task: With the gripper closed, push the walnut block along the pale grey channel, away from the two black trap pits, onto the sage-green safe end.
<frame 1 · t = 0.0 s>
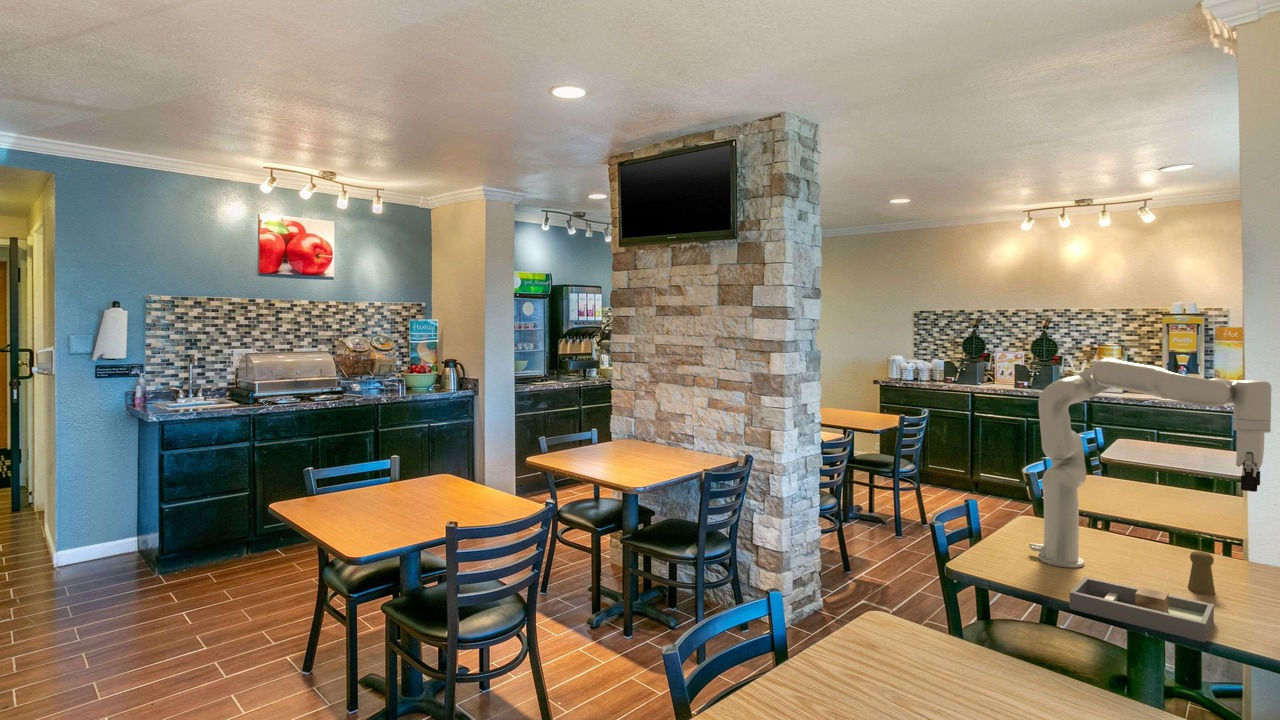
hand: (1250, 487, 181), 31 cm above the table, tool pointing down, fingers open, 9 cm apart
walnut block: (1151, 610, 172), point 2 cm above the table, touching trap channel
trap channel: (1139, 615, 174), on the table
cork: (1201, 591, 190), on the table
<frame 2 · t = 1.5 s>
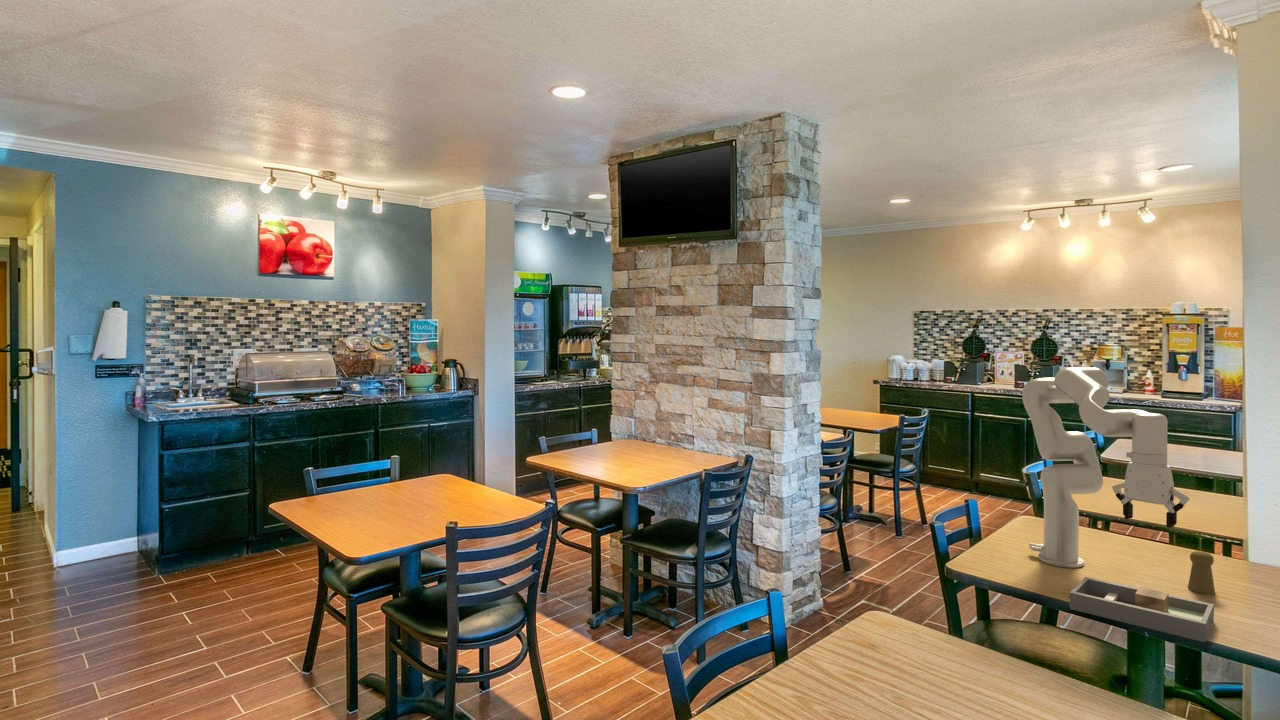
hand: (1149, 522, 178), 23 cm above the table, tool pointing down, fingers open, 9 cm apart
nothing on the table moved.
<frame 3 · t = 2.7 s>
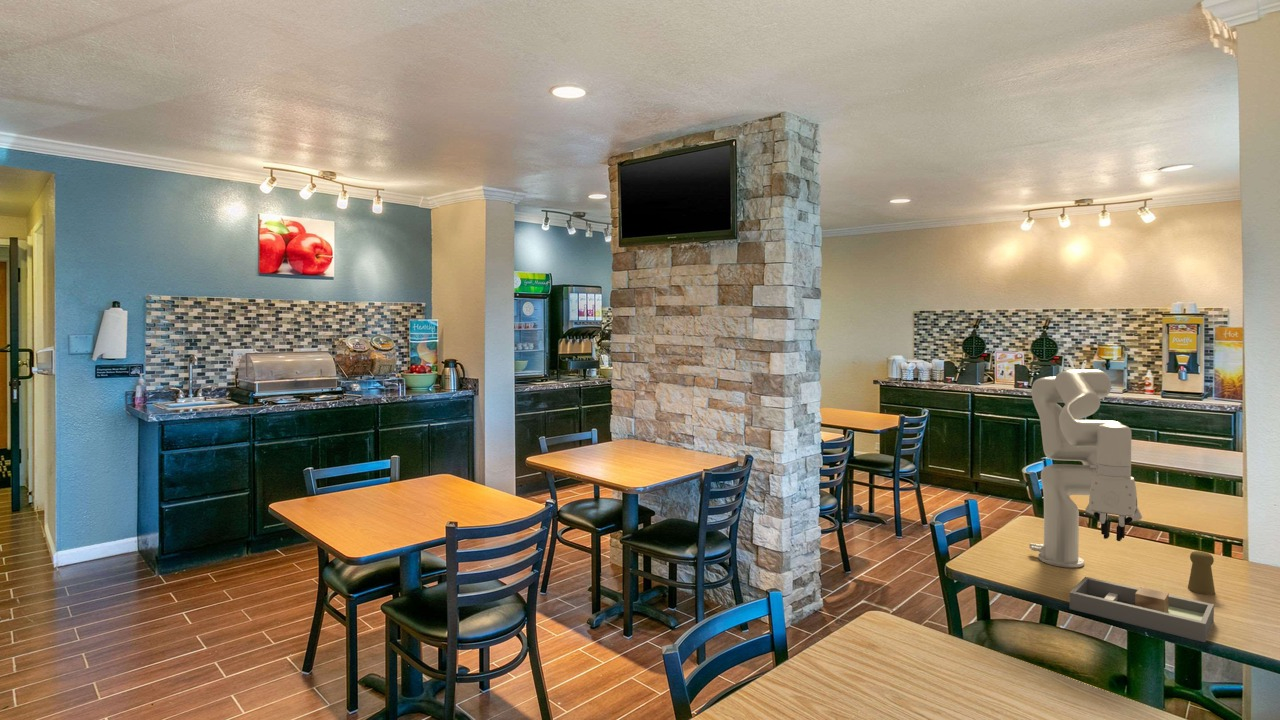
hand: (1112, 538, 178), 19 cm above the table, tool pointing down, fingers closed
nothing on the table moved.
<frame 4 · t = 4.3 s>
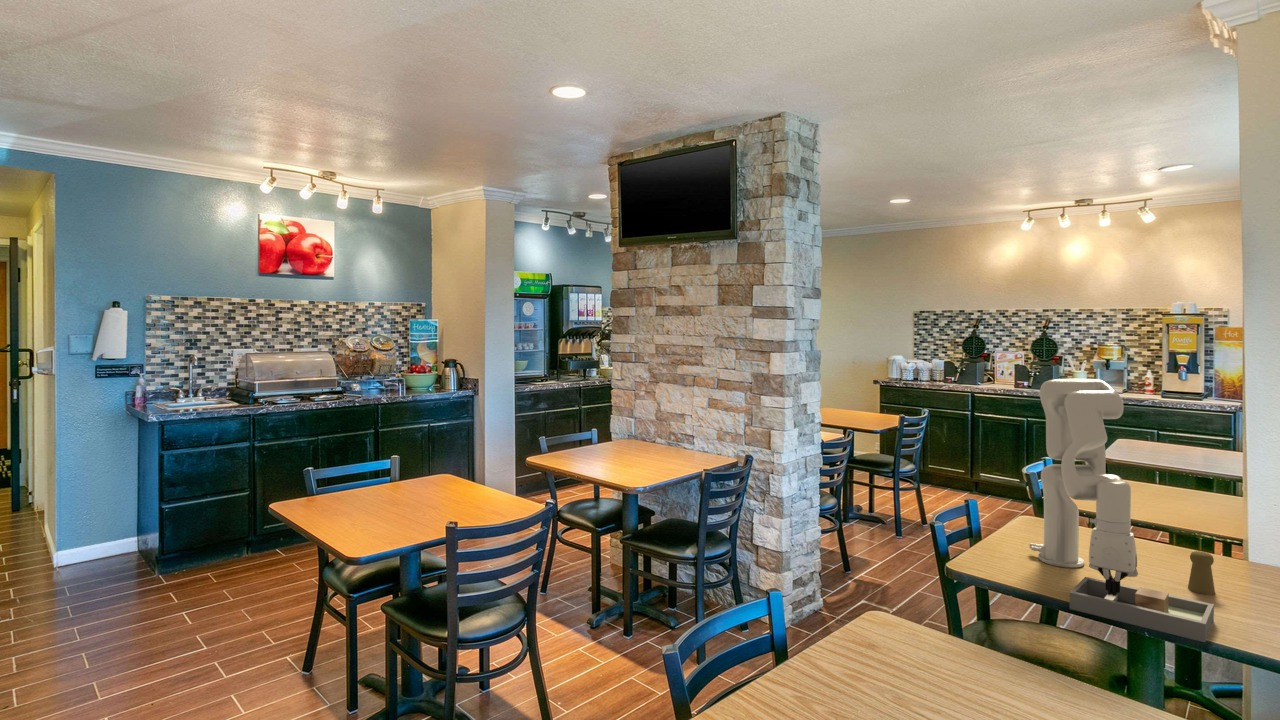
hand: (1112, 593, 178), 4 cm above the table, tool pointing down, fingers closed
nothing on the table moved.
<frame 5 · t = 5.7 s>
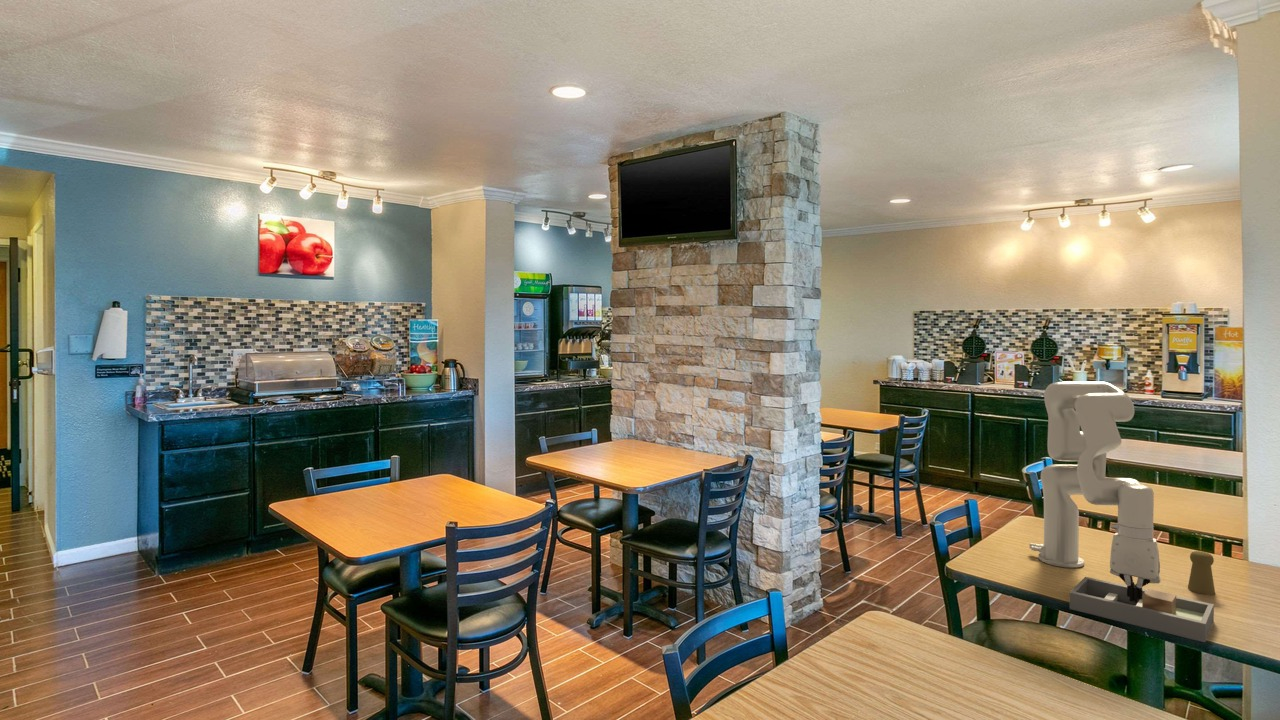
hand: (1134, 600, 175), 4 cm above the table, tool pointing down, fingers closed
walnut block: (1159, 612, 171), point 2 cm above the table, touching gripper, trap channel
everything else where it was.
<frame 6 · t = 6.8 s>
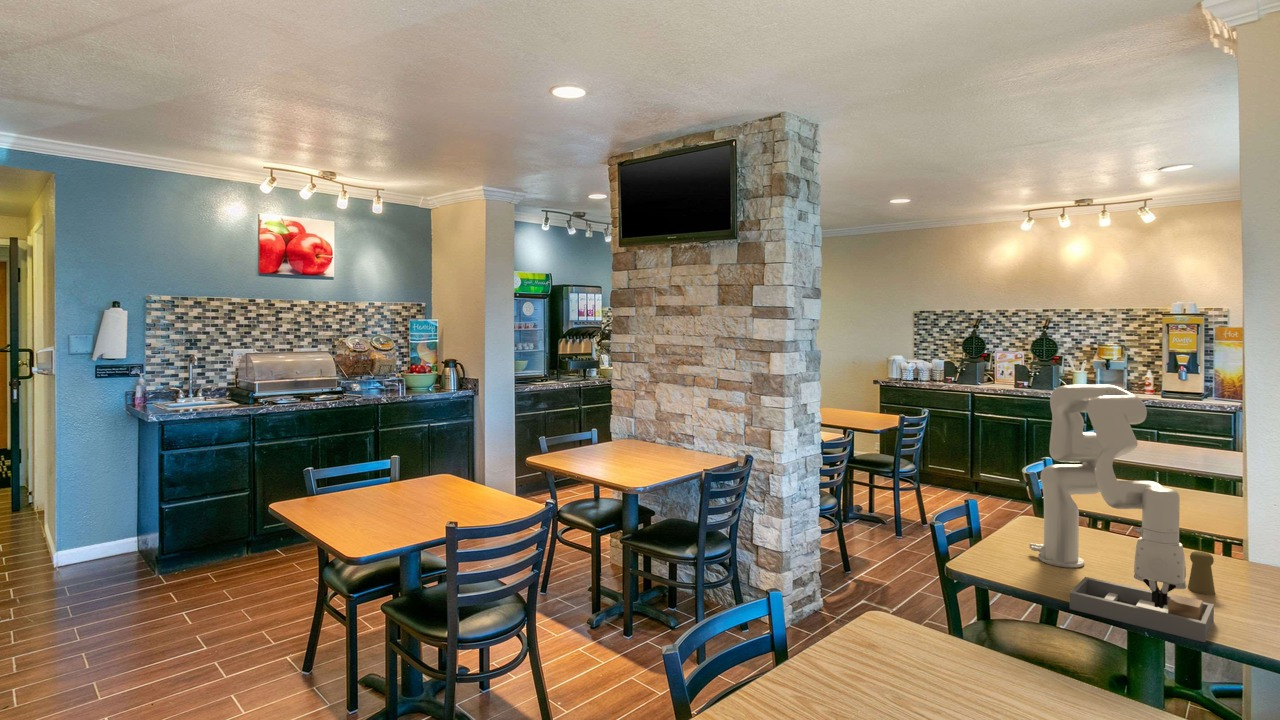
hand: (1159, 606, 171), 4 cm above the table, tool pointing down, fingers closed
walnut block: (1185, 618, 167), point 2 cm above the table, touching gripper
everything else where it was.
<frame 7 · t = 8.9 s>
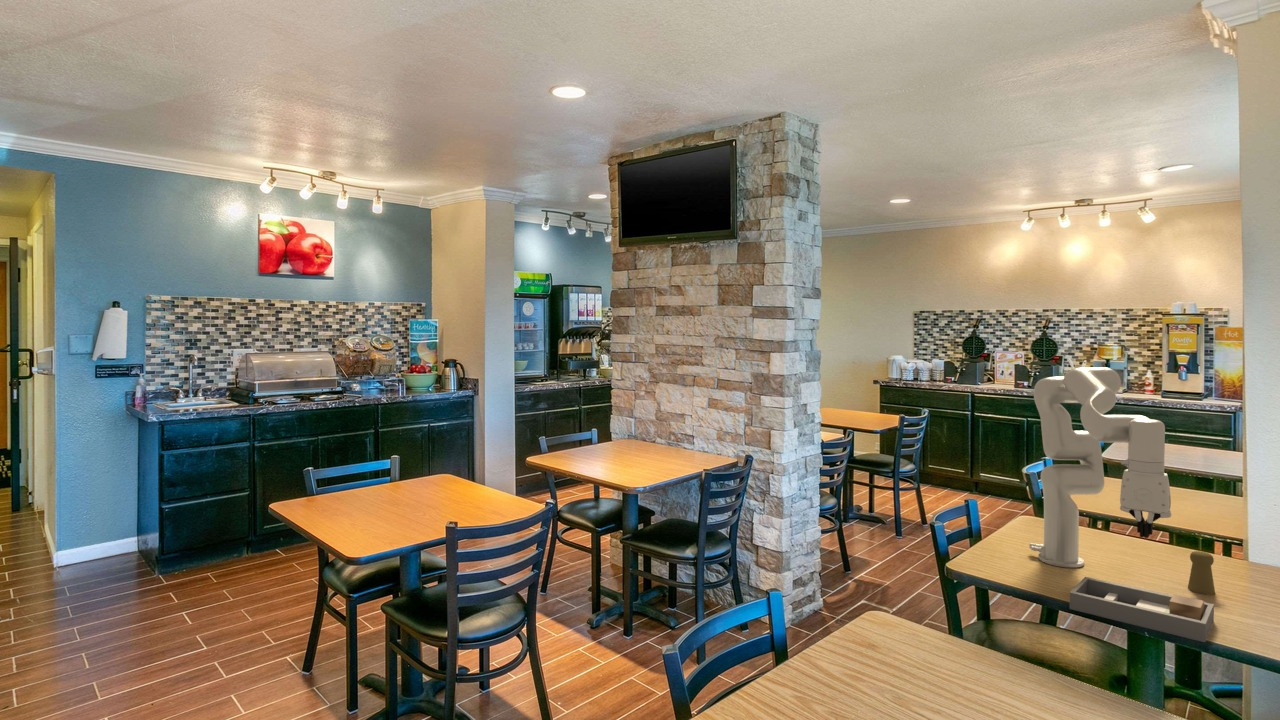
hand: (1144, 536, 173), 21 cm above the table, tool pointing down, fingers closed
walnut block: (1186, 618, 167), point 2 cm above the table, touching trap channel
everything else where it was.
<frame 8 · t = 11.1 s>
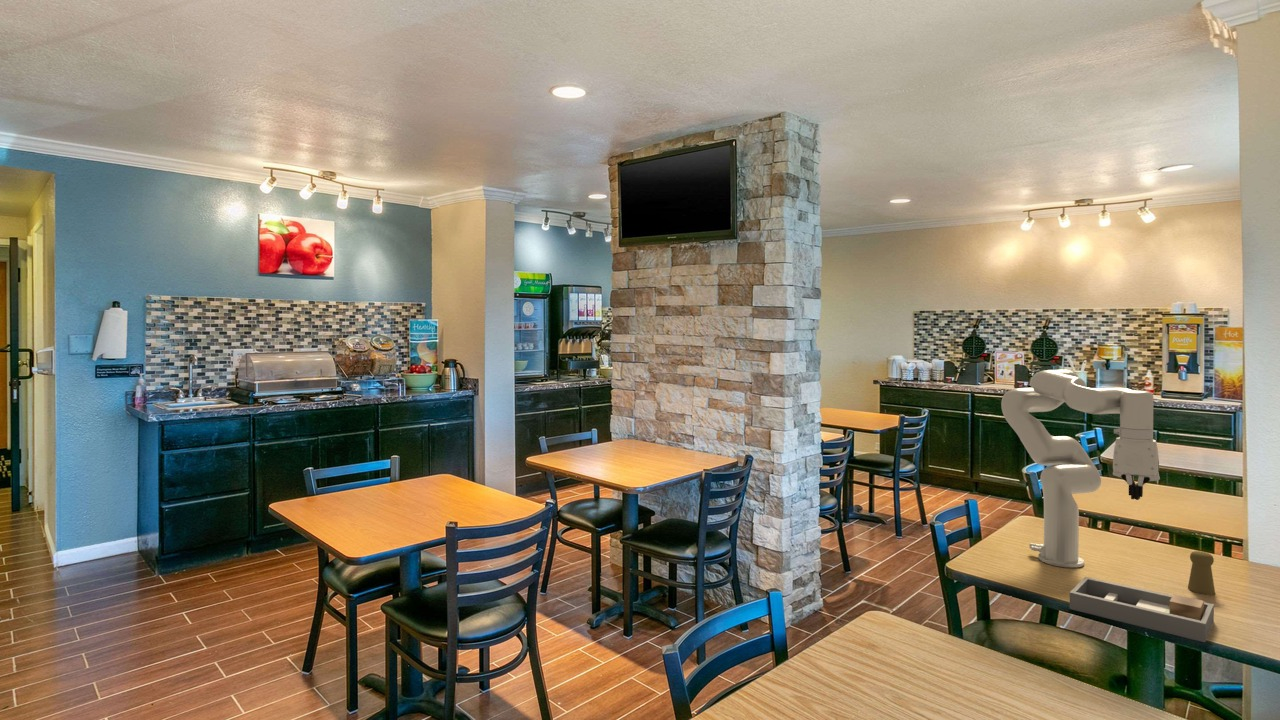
hand: (1135, 498, 188), 27 cm above the table, tool pointing down, fingers closed
nothing on the table moved.
at the end: walnut block 0.1 cm from the target spot on the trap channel, point 2.0 cm above the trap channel's base; walnut block tilted 0°; walnut block moved 7.1 cm from its start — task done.
